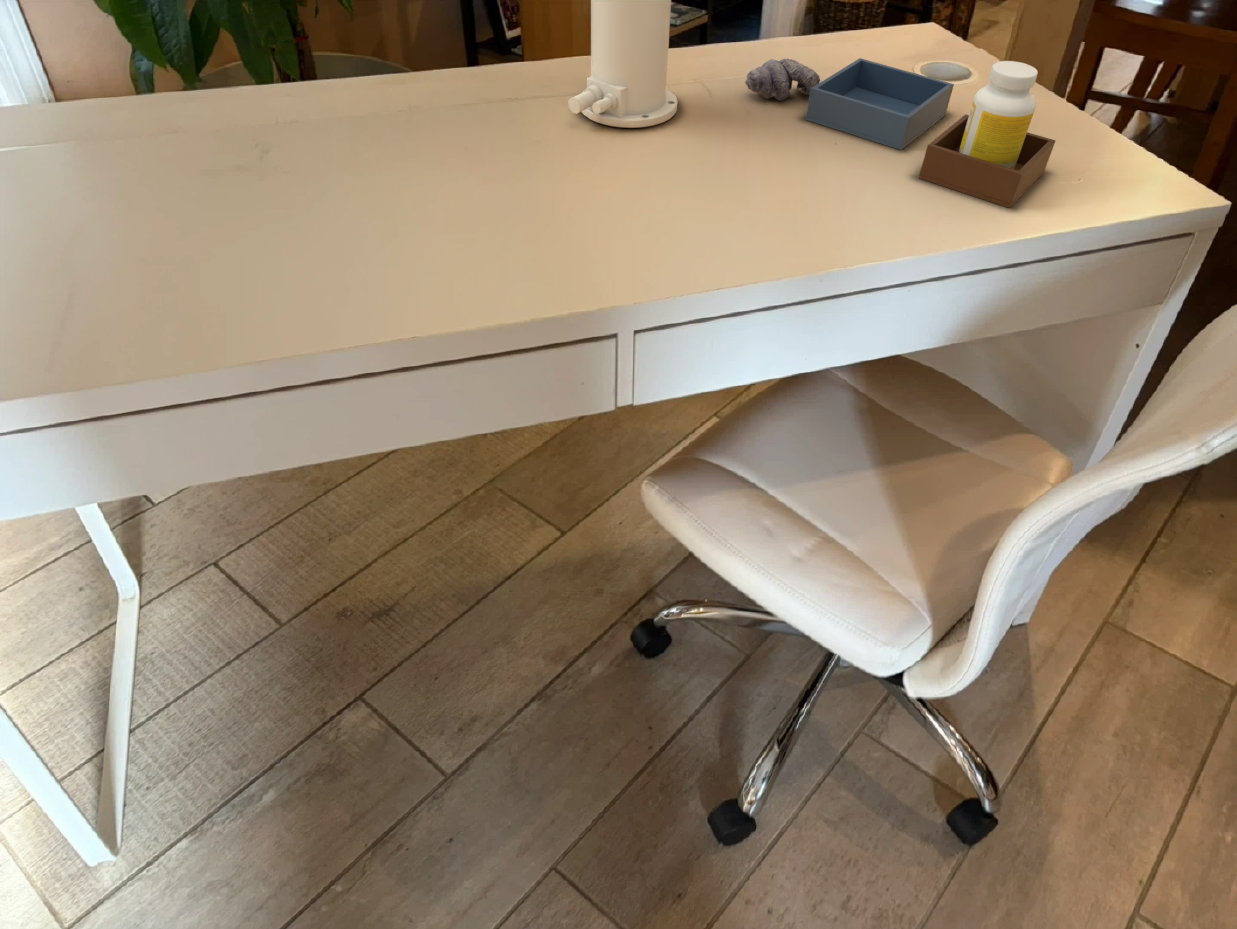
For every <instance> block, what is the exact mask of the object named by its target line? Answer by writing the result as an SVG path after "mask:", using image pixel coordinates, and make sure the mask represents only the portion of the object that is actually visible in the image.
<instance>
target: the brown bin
mask: <svg viewBox="0 0 1237 929" xmlns="http://www.w3.org/2000/svg"><path fill="white" fill-rule="evenodd" d="M968 117H969V114H964V115H963V116H962V117H960V118H959V119H958V120H957V121H955V122H954V123H953V124H952V125H950V126H949V127H948V128H947V129H946V130H944V131H943V132H942V133H940V134H939V135H938V136H937V137H936V138H935V139H933V140H932V141H930V142H929V143H928V145H927V146H926V150H925V154H924V156H923V161H922V165H921V169H920V172H919V176H918V179H920V180H923V181H926V182H928V183H933V184H934V185H935V184H936V185H939V186H940V187H941V186H942V187H944V188H948V189H950V190H953V191H957V192H958V193H963V194H964V195H965V194H966V195H969V196H972V197H975V198H978V199H981V200H983V201H987V202H990V203H993V204H996V205H999V206H1002V207H1005V208H1008V209H1011V208H1012V207H1013V206H1014V205H1015V204H1016V203H1017V201H1018V200H1019V199H1020V198H1021V197H1022V196H1023V195H1024V194H1025V193H1026V192H1027V191H1028V190H1029V189H1030V188H1031V187H1032V186H1033V185H1034V184H1035V183H1036V181H1038V179H1039V178H1041V177H1042V175H1044V173H1045V171H1046V168H1047V164H1048V163H1049V160H1050V157H1051V154H1052V152H1053V149H1054V146H1055V144H1056V140H1055V139H1052V138H1048V137H1045V136H1042V135H1038V134H1035V133H1032V132H1028V131H1027V134H1026V137H1025V140H1024V143H1023V146H1022V148H1021V151H1020V154H1019V157H1018V160H1017V163H1016V166H1015V169H1011V168H1008V167H1004V166H1001V165H998V164H995V163H991V162H988V161H985V160H982V159H979V158H975V157H972V156H969V155H966V154H962V153H959V149H960V145H961V142H962V138H963V135H964V131H965V128H966V124H967V121H968Z"/></svg>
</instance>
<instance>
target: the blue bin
mask: <svg viewBox="0 0 1237 929" xmlns="http://www.w3.org/2000/svg"><path fill="white" fill-rule="evenodd" d="M954 85H955V84H954V83H952V82H948V81H944V80H940V79H937V78H933V77H930V76H927V75H923V74H918V73H916V72H912V71H908V70H905V69H901V68H897V67H894V66H890V65H887V64H884V63H879V62H875V61H871V60H869V59H864V58H861V57H860V58H857V59H855V60H854V61H853V62H851V63H849V64H848V65H846V66H844V67H843V68H842V69H840V70H838V71H837V72H835V73H833V74H832V75H830V76H828V77H827V78H825V79H823V80H821V81H820V82H819V84H817V85H815V86H814V87H812V88H811V90H810V94H809V97H808V103H807V109H806V115H805V120H806V121H808V122H812V123H815V124H817V125H821V126H825V127H827V128H831V129H833V130H836V131H840V132H843V133H846V134H850V135H852V136H856V137H858V138H861V139H865V140H867V141H872V142H875V143H878V144H881V145H884V146H887V147H890V148H893V149H897V150H900V151H902V150H904V148H906V147H907V146H908V145H910V144H911V143H912V142H913V141H915V140H916V139H917V138H919V137H920V136H921V135H922V134H924V133H925V132H926V131H927V130H928V129H930V128H931V127H932V126H934V125H935V124H936V123H937V122H939V121H940V120H941V119H942V118H944V117H945V116H946V115H947V111H948V108H949V105H950V104H949V103H950V100H951V96H952V93H953V90H954Z"/></svg>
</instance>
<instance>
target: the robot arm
mask: <svg viewBox="0 0 1237 929" xmlns="http://www.w3.org/2000/svg"><path fill="white" fill-rule="evenodd" d="M671 11H672V0H590V76H588V77H587V78H586V88H584V90H583V91H581V93H579V94H577V95H576V94H575V96H572V97H571V98H569V99H568V101H567V107H568V109H569V111H570V112H571V113H572V114H573V115H576V114H577V115H578V114H580V113H582V114H583V115H584V116H585V117H586V118H588V119H589V120H591V121H593V122H595V123H598V124H601V125H604V126H609V127H615V128H623V129H624V128H628V129H635V128H647V127H652V126H656V125H659V124H662V123H665V122H666V121H668V120H671V119H672V117H674V116H675V115H676V113H677V111H678V98H677V96H676V95H675V93H673V91H671V90H670V89H668V88H667V80H668V79H667V78H668V65H669V64H668V63H669V46H670V45H669V44H670V29H671Z"/></svg>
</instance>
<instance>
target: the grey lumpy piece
mask: <svg viewBox="0 0 1237 929" xmlns="http://www.w3.org/2000/svg"><path fill="white" fill-rule="evenodd" d="M793 81H794V82H797V84H796V89H797V90H800V89H801V90H800V92H801V93H803V95H804V96H806V95H810V90H811V88H812V87H814V86H815V85H817V84H819V83H820V82H821V77H820V74H819V73H817V71H815V70H814V69H813V68H811V67H808V66H807V65H805V64H803V63H801V62H799V61H797V60H795V59H790V58H783V59H780V60H777V59H773V58H771V59H769V60H766V61H765V62H764V63H763V64H762V65H761V66H757V67H755V68H754V69H751V70H750V71H749V72H748V73H747V74H746V79H745V81H744V83H745V85H746V86H747V89H748V90H750V91H752V92H753V93H757V94H759V95H760V96H761V97H762V98H764V99H771V98H774V99H776V100H777V101H780V102H782V101H784V100H785V99H788V98H789V97H790V94H791V93H790V91H791V90H792V87H793Z"/></svg>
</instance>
